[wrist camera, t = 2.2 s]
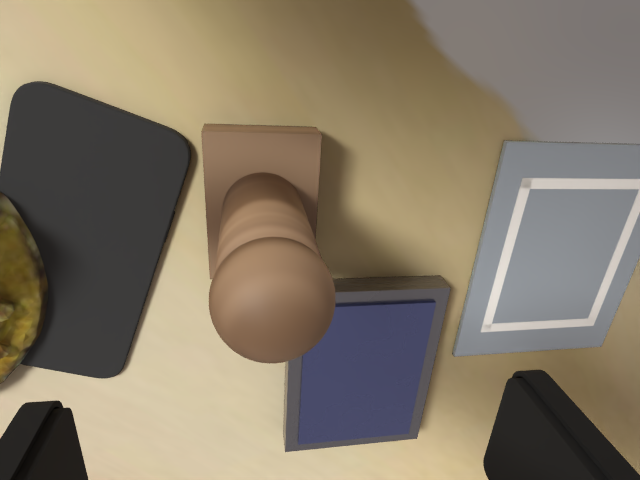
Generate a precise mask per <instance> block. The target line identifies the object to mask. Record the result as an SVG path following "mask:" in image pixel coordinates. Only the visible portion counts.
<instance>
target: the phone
mask: <svg viewBox="0 0 640 480" xmlns="http://www.w3.org/2000/svg"><path fill="white" fill-rule="evenodd" d="M190 158H191V150H190V146H189V144H188V142H187V140H186V139H185V138H184V137H183V136H182V135H181V134H180V133H179V132H177V131H176V130H174V129H172V128H169V127H167V126H164V125H162V124H159V123H156V122H154V121H151V120H149V119H146V118H143V117H141V116H138V115H135V114H133V113H130V112H127V111H125V110H122V109H119V108H117V107H114V106H111V105H109V104H106V103H103V102H101V101H98V100H95V99H93V98H90V97H87V96H85V95H82V94H79V93H77V92H74V91H71V90H69V89H66V88H63V87H60V86H58V85H55V84H52V83H48V82H41V81H37V82H31V83H27V84H24V85H22V86H21V87H19V88H18V89H17V91H16V92H15V93H14V95H13V98H12V101H11V105H10V111H9V117H8V124H7V130H6V137H5V143H4V150H3V156H2V163H1V169H0V192H1V193H3V194H4V195H5V196H6V197H7V198H8V199H9V201H10V202H11V203H12V205H13V206H14V207H15V209H16V210H17V212H18V213H19V215H20V216H21V218H22V219H23V221H24V223H25V224H26V226H27V227H28V229H29V231H30V233H31V235H32V237H33V239H34V241H35V243H36V245H37V247H38V250H39V252H40V255H41V258H42V261H43V265H44V269H45V273H46V278H47V282H48V303H47V310H46V315H45V320H44V323H43V327H42V330H41V333H40V335H39V336H38V338H37V340H36V341H35V343H34V345H33V346H32V347H31V349H30V350H29V352H28V353H27V355H26V356H25V357H24V359H23V360H22V361H21V363H20V364H23V365H28V366H34V367H39V368H44V369H50V370H55V371H61V372H66V373H72V374H77V375H83V376H88V377H94V378H110V377H113V376H116V375H117V374H119V373H120V372H121V370H122V369H123V367H124V364H125V362H126V359H127V356H128V353H129V350H130V347H131V343H132V340H133V337H134V334H135V331H136V328H137V325H138V322H139V319H140V316H141V313H142V309H143V306H144V303H145V300H146V297H147V294H148V291H149V288H150V285H151V282H152V279H153V275H154V272H155V269H156V266H157V263H158V260H159V257H160V254H161V251H162V248H163V244H164V243H165V242H166V239H167V235H168V232H169V229H170V226H171V223H172V220H173V217H174V214H175V211H174V210H175V207H176V204H177V201H178V198H179V195H180V192H181V189H182V186H183V183H184V180H185V176H186V173H187V170H188V167H189V163H190Z"/></svg>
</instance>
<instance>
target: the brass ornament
mask: <svg viewBox="0 0 640 480" xmlns="http://www.w3.org/2000/svg"><path fill="white" fill-rule="evenodd" d="M47 303H48V282H47V278H46V273H45V269H44V265H43V261H42V258H41V255H40V252H39V250H38V247H37V245H36V243H35V241H34V239H33V237H32V235H31V233H30V231H29V229H28V227H27V226H26V224H25V223H24V221H23V219H22V218H21V216H20V215H19V213H18V212H17V210H16V209H15V207H14V206H13V205H12V203H11V202H10V201H9V199H8V198H7V197H6V196H5V195H4V194H3V193H1V192H0V384H1V383H2V382H4V380H5V379H6V378H7V377H8V376H9V375H10V373H11V372H12V371H13V370H14V369H15V368H16V367H17V366H18V365H19V364H20V363H21V361H22V360H23V359H24V357H25V356H26V355H27V353H28V352H29V350H30V349H31V347H32V346H33V345H34V343H35V341H36V340H37V338H38V336H39V335H40V333H41V330H42V327H43V323H44V320H45V315H46V310H47Z"/></svg>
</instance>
